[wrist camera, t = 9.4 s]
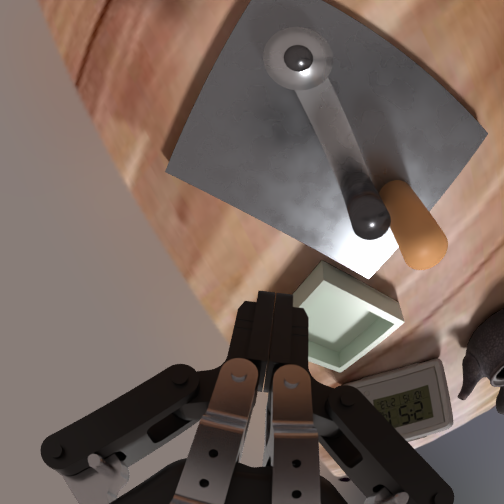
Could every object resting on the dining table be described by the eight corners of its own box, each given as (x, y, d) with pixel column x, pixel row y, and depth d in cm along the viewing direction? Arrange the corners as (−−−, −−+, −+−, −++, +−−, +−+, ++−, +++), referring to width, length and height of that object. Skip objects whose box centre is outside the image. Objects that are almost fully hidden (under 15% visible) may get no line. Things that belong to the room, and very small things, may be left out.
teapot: (436, 339, 35) (454, 402, 27) (528, 283, 28) (560, 338, 20) (460, 386, 42) (472, 434, 34) (530, 346, 35) (549, 391, 27)
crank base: (269, -21, 16) (267, -26, 15) (479, 128, 20) (488, 133, 19) (171, 165, 26) (165, 171, 25) (366, 269, 30) (368, 279, 29)
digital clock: (445, 352, 36) (462, 415, 28) (433, 383, 41) (445, 439, 33) (337, 370, 40) (340, 438, 32) (340, 399, 45) (341, 457, 37)
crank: (254, 45, 18) (237, 38, 12) (311, 21, 16) (320, 3, 11) (344, 230, 26) (356, 284, 20) (392, 212, 24) (417, 263, 18)
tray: (321, 260, 30) (323, 280, 27) (398, 302, 32) (404, 322, 29) (266, 323, 36) (263, 343, 34) (339, 353, 38) (340, 372, 36)
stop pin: (393, 172, 22) (426, 219, 16) (420, 193, 23) (456, 243, 17) (370, 202, 24) (393, 256, 18) (397, 221, 25) (425, 276, 19)
